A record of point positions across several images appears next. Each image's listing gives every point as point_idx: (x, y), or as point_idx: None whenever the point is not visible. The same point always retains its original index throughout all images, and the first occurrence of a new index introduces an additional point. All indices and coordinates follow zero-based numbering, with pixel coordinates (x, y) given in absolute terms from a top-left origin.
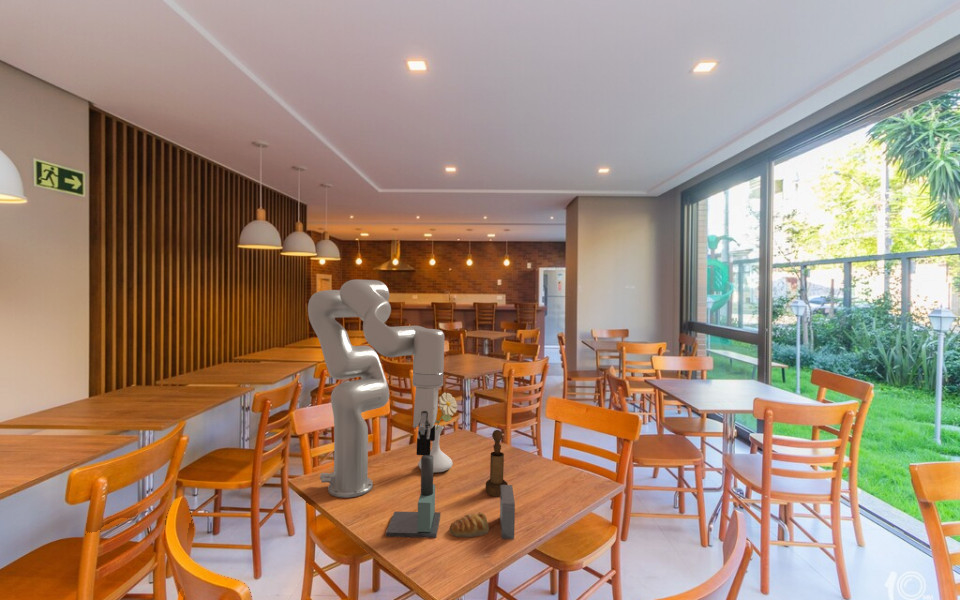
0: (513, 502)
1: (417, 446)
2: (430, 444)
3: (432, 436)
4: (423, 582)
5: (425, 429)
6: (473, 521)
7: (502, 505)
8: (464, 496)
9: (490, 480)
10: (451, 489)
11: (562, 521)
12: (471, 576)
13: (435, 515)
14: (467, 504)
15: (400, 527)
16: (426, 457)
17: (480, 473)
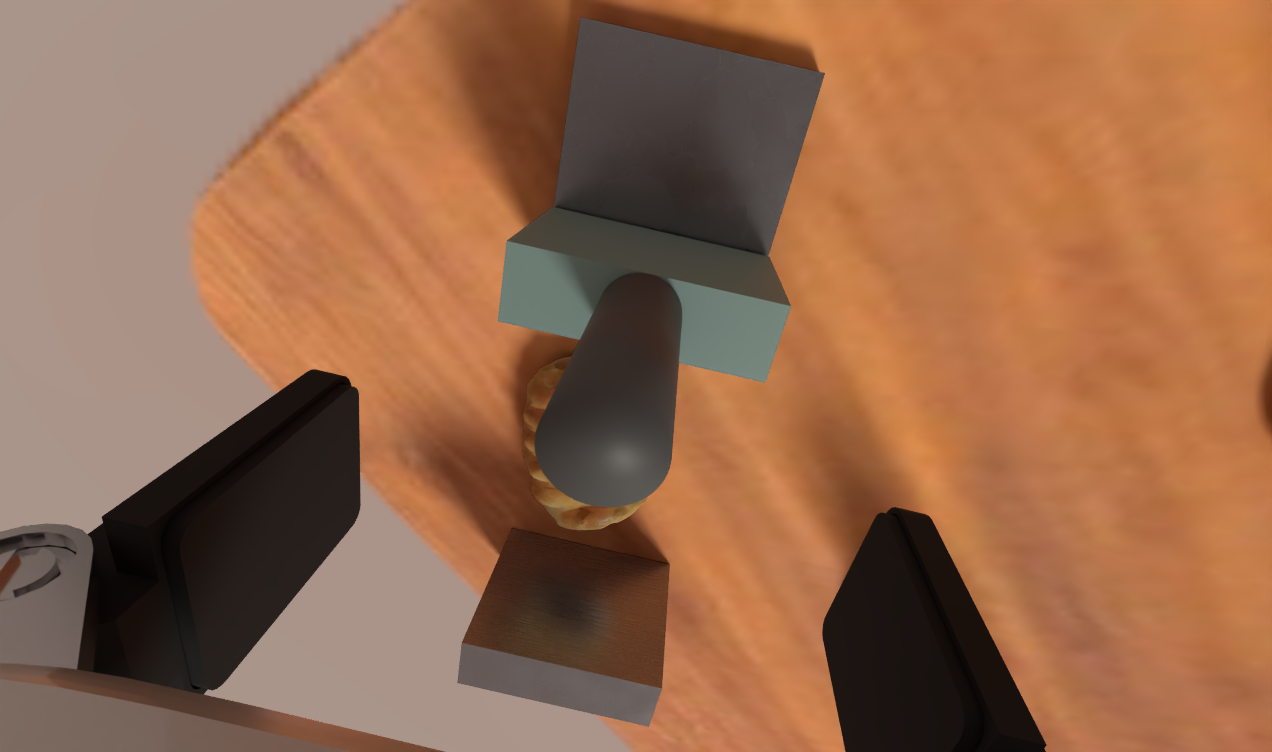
0: (467, 681)
1: (231, 436)
2: (267, 618)
3: (839, 664)
4: (232, 204)
5: (922, 690)
6: (541, 475)
7: (465, 635)
8: (913, 478)
9: None
10: (1026, 434)
11: (602, 719)
12: (286, 382)
13: None
14: (823, 474)
15: (623, 111)
16: (593, 441)
17: (1155, 602)
